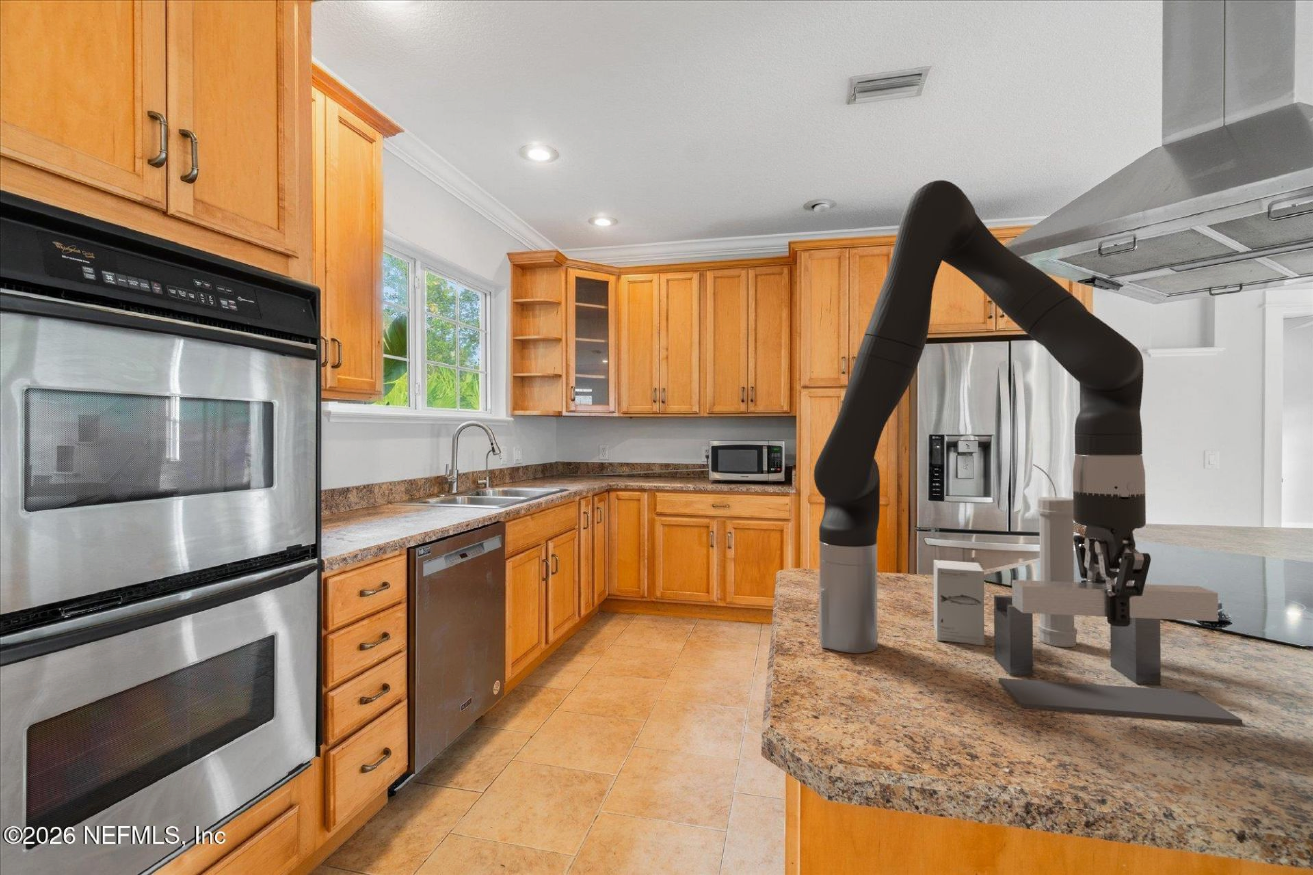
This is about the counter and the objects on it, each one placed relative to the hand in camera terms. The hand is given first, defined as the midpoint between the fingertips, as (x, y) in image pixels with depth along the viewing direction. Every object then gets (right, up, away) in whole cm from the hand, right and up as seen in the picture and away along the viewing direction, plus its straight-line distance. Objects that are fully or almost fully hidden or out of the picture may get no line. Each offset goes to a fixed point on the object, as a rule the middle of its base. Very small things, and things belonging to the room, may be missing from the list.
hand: (1109, 619), depth 77 cm
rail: (0, +1, 0) cm, 1 cm away
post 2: (+10, -11, +8) cm, 17 cm away
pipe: (+8, -11, +22) cm, 26 cm away
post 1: (-6, -11, +11) cm, 17 cm away
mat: (0, -11, 0) cm, 11 cm away
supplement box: (-7, -11, +25) cm, 28 cm away
